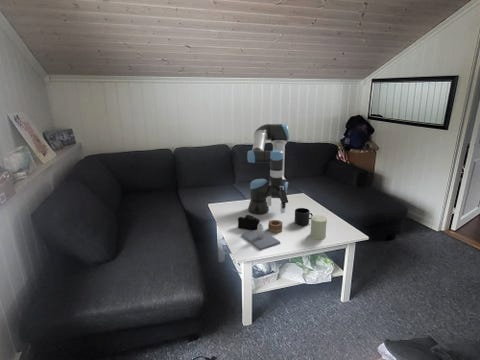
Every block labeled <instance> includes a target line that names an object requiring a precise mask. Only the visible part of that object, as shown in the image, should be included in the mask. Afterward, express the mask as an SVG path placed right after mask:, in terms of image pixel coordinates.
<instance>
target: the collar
mask: <svg viewBox="0 0 480 360" xmlns="http://www.w3.org/2000/svg"><path fill="white" fill-rule="evenodd" d="M267 224H268V225H267V226H268V227H267V228H268V229H267V231H268V232H270V233H271V234H279V233H282V232H283V221H281V220H277V219H272V220H269V221H268V223H267Z"/></svg>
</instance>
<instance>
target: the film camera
mask: <svg viewBox="0 0 480 360" xmlns="http://www.w3.org/2000/svg"><path fill="white" fill-rule="evenodd" d="M260 222H261V220H260V219H259V218H257V217H254V216H253V215H251V214H246V215H245V216H244V217H243V216H239V217H237V228H238V229H240V230H246V231H247V230H249V231H254V230H257V225H259V223H260Z"/></svg>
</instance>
